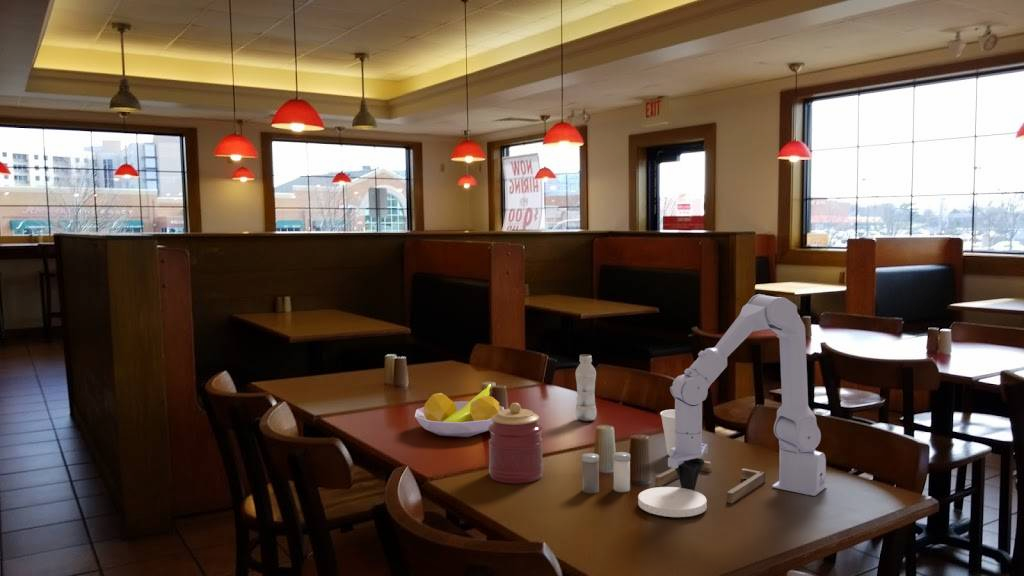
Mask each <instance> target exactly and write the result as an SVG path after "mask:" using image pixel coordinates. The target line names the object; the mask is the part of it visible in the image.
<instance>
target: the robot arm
mask: <svg viewBox="0 0 1024 576" xmlns="http://www.w3.org/2000/svg"><path fill="white" fill-rule="evenodd" d="M762 330H772V331H773V332H774V333H775V334H777V336H778V337H779V339H778V340H779V358H780V362H779V363H780V380H781V381H780V383H781V385H780V386H781V405H780V407H779V408H777V410H776V418H775V422H774V424H773V433H774V435H775V437H776V438H777V439H778V445H779V462H778V464H779V466H778V469H779V471H778V475H779V476H778V477H779V478H778V479H779V480H778V481H776V482H775V483H774V484H772V485H771V486H772V488H773V489H779V490H784V491H789V492H793V493H798V494H803V495H808V496H813V497H815V496H817V495H818V494H819V493H821V491H823V490H824V489H826V488H827V484H826V478H827V476H826V475H827V473H826V472H827V470H826V469H827V468H826V467H827V459H826V454H825V453H824V452H822V451H819V450H816V448H817V447H818V446H819V444H820V442H821V438H822V434H821V430H820V428H819V426H818V423H817V417H816V415H815V413H814V412H813V410H811V408H810V406H809V396H808V395H809V394H808V393H809V392H808V391H809V389H808V371H807V370H808V369H807V367H808V366H807V344H806V343H807V340H806V339H807V338H806V336H807V335H806V326H805V324H804V322H803V320H802V318H801V316H800V315H799V313H798V305H797V304H795V303H793V302H792V301H791V300H789V299H788V298H786V297H783V296H782V297H779V296H778V297H777V296H771V295H766V294H761V293H758V294H755V295H753V296H752V297H751V298H750V299H749V300H748V301H747V303H746V304H745V305H743V306H742V308H741V311H740V313H739V315H738V316H737V318H736V319H735V320H734V321H733V323H731V325H730V326H729V328H728V329H727V331H726V332H725V333H724V334H723V336H722V337H721V338H720V339H719V341H718V342H717V343H716V345H715V346H714V347H708V348H705V349H704V350H700V351H699V352H698V354H697V355H698V357H697V359H696V360H694V361H693V363H692V364H691V365H690V366H689V367H688V368H686V369H685V370H684V371H683V372H684V374H681V375H678V376H676V378H675V379H674V380H673V382H672V385H671V386H670V387H669V392H670V393H671V395H672V397H673V398H674V409H675V447H673V448H671V449H670V452H673V453H672V455H671V456H669V457H668V458H667V467H668V468H675V470H676V472H677V474H678V479H679V484H680V486H681V487H680V488H685V489H690V490H693V491H696V486H697V482H698V478H699V474H700V472H701V471H700V470H701V468H702V466H703V465H704V461H705V460H704V459H703V458H701V457H703V455H705V454H708V450H709V449H708V443H703V401H706V399H707V398H708V393H709V391H708V389H710V387H711V385H712V383H714V382H715V380H716V379H717V378H718V377H719V376H720V375H721V373H723V371H724V370H725V369H726V368H727V367H728V357H729V356H730V355H731V354H732V353H734V351H735V350H736V349H737V348H738V347H739V346H740V345H741V344H742V343H743V342H744V341H745V340H746V339H747V338H748V337H749V336H750V335H751V334H752V333H753V332H758V331H762Z"/></svg>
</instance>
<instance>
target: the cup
mask: <svg viewBox="0 0 1024 576" xmlns="http://www.w3.org/2000/svg"><path fill="white" fill-rule="evenodd" d="M659 415H660V416H661V421H662V428H663V432H664V433H663V434H664V440H665V446H666V447H665V448H666V454H667V455H668V456H669V457H670V456H671V455H672V453H673V452H670V449H671V448H673V447H675V408H674V409H665V410H662V411H660V413H659Z"/></svg>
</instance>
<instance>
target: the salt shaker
mask: <svg viewBox="0 0 1024 576" xmlns="http://www.w3.org/2000/svg"><path fill="white" fill-rule="evenodd" d="M612 460H613V491H615V492H617V493H627V492H630V491H631V453H629V452H627V451H626V452H625V451H618V452H617V451H615V452H614V453H613V455H612Z"/></svg>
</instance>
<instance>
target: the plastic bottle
mask: <svg viewBox="0 0 1024 576" xmlns="http://www.w3.org/2000/svg"><path fill="white" fill-rule="evenodd" d="M578 362H580V363H579V364H578V366H577V367H576V370H575V381H576V390H577V391H576V393H577V397H576V406H575V417H576V419H577V420H579V421H583V422H589V421H594V420H595V419H596V417H597V414H598V412H597V406H596V398H595V392H596V391H595V388H596V381H597V380H596V379H597V371H596V368H595V367H594V365H593V364H592V362H593V358H592V355H591V354H580V355H579V361H578Z"/></svg>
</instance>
